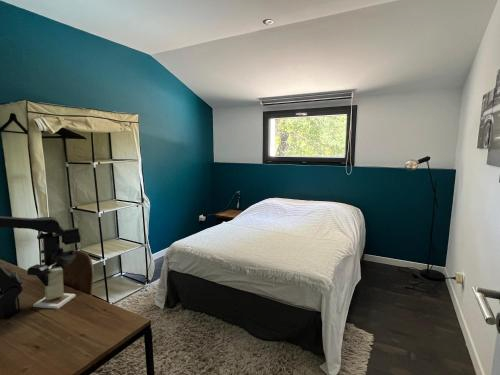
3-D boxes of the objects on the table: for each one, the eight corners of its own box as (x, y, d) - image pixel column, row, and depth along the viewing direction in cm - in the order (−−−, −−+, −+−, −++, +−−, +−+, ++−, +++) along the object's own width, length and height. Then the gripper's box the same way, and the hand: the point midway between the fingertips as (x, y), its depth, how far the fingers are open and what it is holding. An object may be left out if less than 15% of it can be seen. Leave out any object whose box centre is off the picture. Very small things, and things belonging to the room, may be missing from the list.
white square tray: (57, 308, 112) (57, 305, 112) (33, 306, 113) (33, 303, 113) (75, 296, 122) (75, 293, 122) (53, 294, 123) (52, 291, 123)
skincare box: (46, 300, 113) (44, 273, 112) (44, 296, 116) (42, 269, 115) (64, 295, 118) (62, 269, 116) (62, 291, 121) (60, 265, 119)
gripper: (51, 256, 104) (53, 294, 106) (84, 241, 123) (86, 273, 125) (24, 254, 105) (27, 292, 107) (62, 239, 124) (63, 272, 126)
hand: (53, 281), depth 116 cm, fingers closed on skincare box, 7 cm apart
